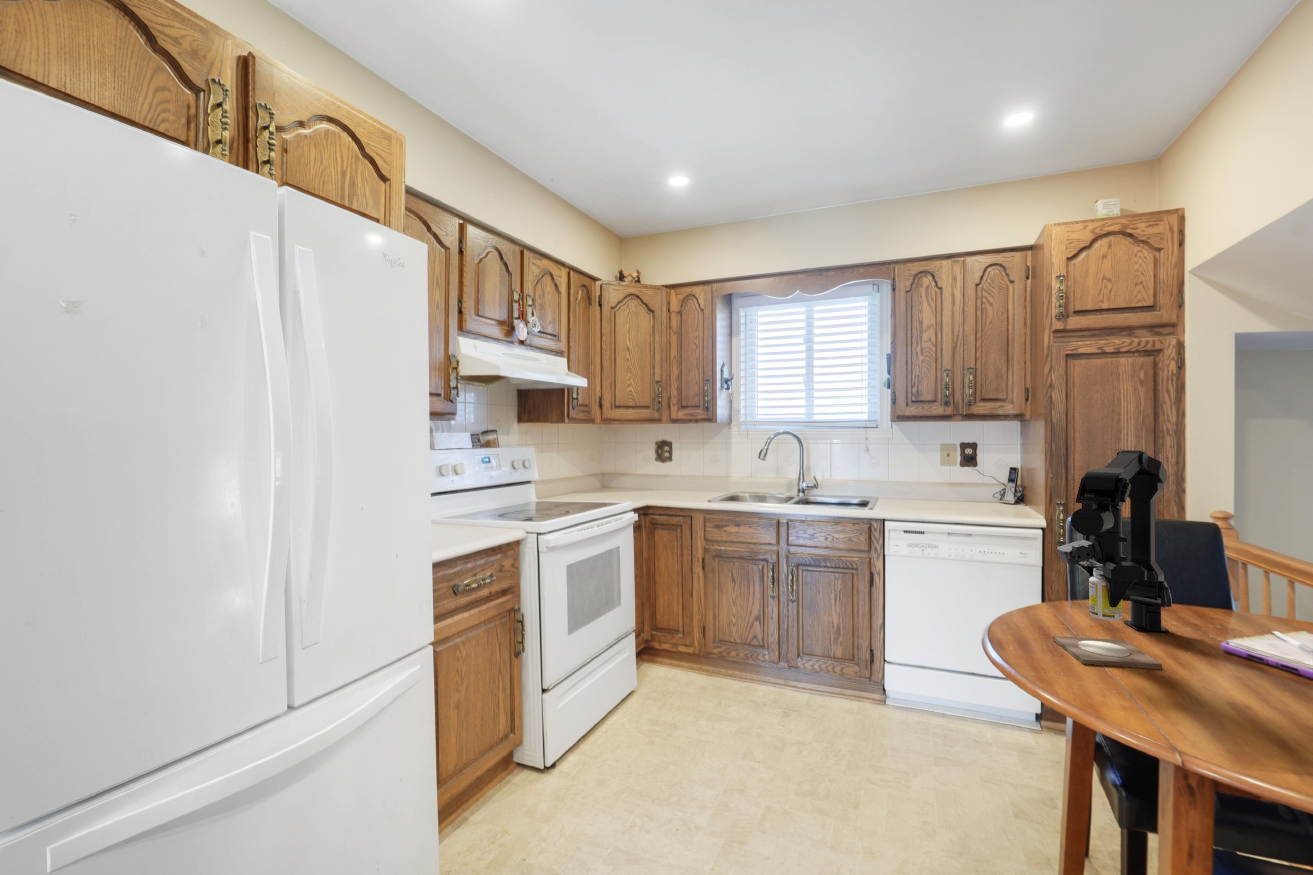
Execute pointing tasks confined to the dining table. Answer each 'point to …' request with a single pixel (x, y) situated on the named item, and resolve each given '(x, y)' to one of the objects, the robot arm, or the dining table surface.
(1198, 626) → the dining table surface
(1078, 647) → the board
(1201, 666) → the dining table surface
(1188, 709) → the dining table surface
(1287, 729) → the dining table surface
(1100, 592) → the supplement bottle
